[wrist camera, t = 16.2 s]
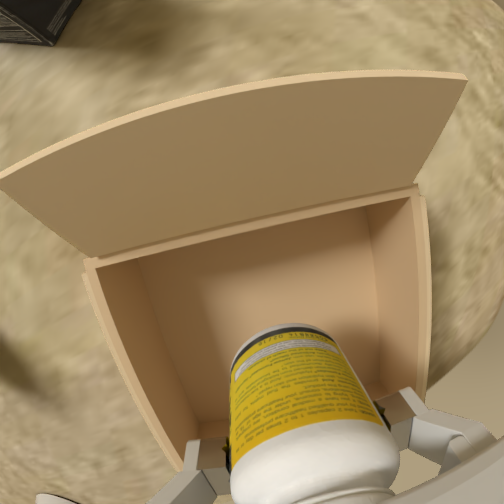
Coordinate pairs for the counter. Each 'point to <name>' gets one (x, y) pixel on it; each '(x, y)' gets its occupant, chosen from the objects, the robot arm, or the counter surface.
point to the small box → (34, 20)
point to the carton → (266, 304)
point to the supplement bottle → (304, 424)
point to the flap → (235, 155)
